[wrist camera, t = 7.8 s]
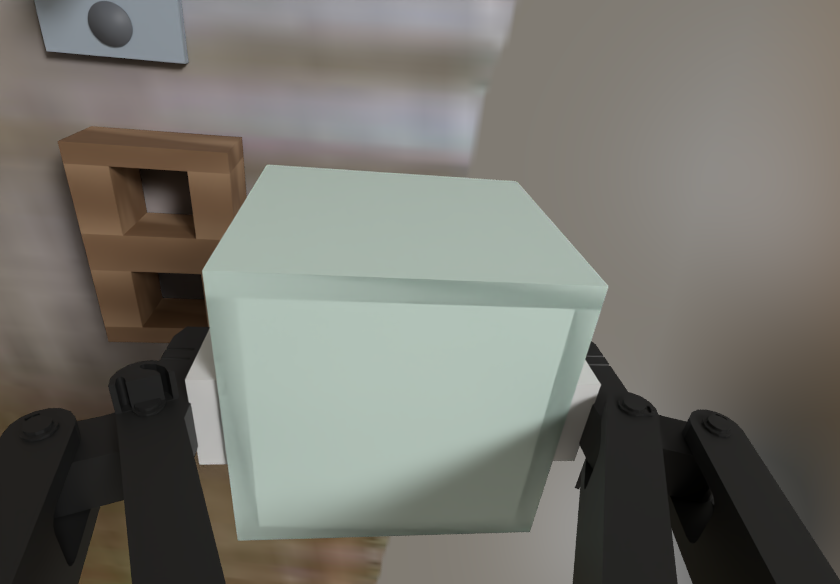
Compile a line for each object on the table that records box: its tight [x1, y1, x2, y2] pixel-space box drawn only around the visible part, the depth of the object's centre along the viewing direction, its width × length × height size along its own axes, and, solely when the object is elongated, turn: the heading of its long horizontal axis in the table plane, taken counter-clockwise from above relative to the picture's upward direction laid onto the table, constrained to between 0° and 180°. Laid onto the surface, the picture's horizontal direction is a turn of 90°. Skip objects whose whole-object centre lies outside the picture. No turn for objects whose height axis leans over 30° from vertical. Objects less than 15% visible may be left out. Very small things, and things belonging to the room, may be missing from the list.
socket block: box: [58, 126, 247, 343], centre depth 29 cm, size 12×8×4 cm, turn 175°
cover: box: [202, 165, 608, 540], centre depth 16 cm, size 8×8×8 cm
